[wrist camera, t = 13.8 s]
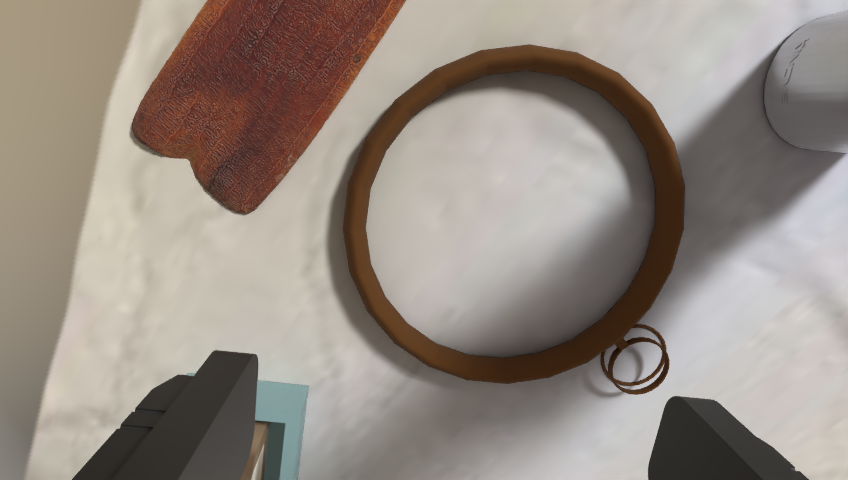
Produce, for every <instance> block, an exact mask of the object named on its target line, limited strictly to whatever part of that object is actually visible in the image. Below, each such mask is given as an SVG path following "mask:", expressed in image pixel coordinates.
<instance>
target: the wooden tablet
mask: <svg viewBox="0 0 848 480" xmlns="http://www.w3.org/2000/svg"><path fill="white" fill-rule="evenodd" d="M405 1H406V0H208V1H207V2H206V3H205V5H204V6H203V7H202V9H201V10H200V12H199V13H198V15H197V16H196V18H195V20H194V21H193V23H192V24H191V26H190V27H189V28H188V30H187V31H186V32H185V34H184V36H183V37H182V39H181V41H180V42H179V44H178V45H177V47H176V49H175V50H174V51H173V52H172V55H171V56H170V58H169V59H168V60H167V61H166V63H165V65H164V66H163V68H162V69H161V71H160V72H159V74H158V76H157V78H156V79H155V80H154V81H153V82H152V84H151V86H150V88H149V90H148V91H147V93H146V94H145V96H144V98H143V99H142V101H141V103H140V105H139V107H138V109H137V112H136V114H135V116H134V119H133V123H132V130H133V133H134V136H135V137H136V139H137V140H138V141H140V142H141V143H143V144H144V145H146V146H147V147H149V148H151V149H153V150H155V151H156V152H159V153H160V154H162V155H165V156H168V157H170V158H183V159H188V160H189V161H190V164H191V167H192V169H193V172H194V174H195V176H196V178H197V179H198V180H199V181H200V183H201V184H202V185H203V186H204V188H205V189H206V190H207V191H208V192H209V193H210V194H211V195H212V196H213V197H215V198H216V199H217V200H218V201H219V202H221V203H222V204H223V205H225V206H227V207H228V208H229V209H231V210H234V211H236V212H239V213H243V212H244V213H249V212H252V211H253V210H255V209H256V208H257V207H258V206H259V205H260V204H261V203H262V202H263V200H264V199H265V198H266V197H267V196H268V195H269V193H271V191H272V190H273V189H274V188H275V187H276V186H277V185H278V184H279V183H280V181H281V180H282V179H283V178H284V177H285V175H286V174H287V173H288V171H289V170H290V169H291V167H292V166H293V165H294V164H295V163H296V161H297V160H298V158H299V157H300V156H301V155H302V154H303V152H304V151H305V150H306V148H307V147H308V145H309V144H310V143H311V142H312V140H313V139H314V137H315V136H316V135H317V133H318V132H319V131H320V129H321V128H322V126H323V125H324V123H325V121H326V120H327V119H328V118H329V116H330V115H331V113H332V112H333V111H334V109H335V108H336V106H337V105H338V103H339V102H340V100H341V99H342V98H343V96H344V95H345V93H346V92H347V90H348V89H349V88H350V86H351V84H352V83H353V81H354V80H355V78H356V76H357V75H358V73H359V72H360V70H361V69H362V67H363V66H364V64H365V63H366V61H367V60H368V58H369V56H370V55H371V53H372V52H373V51H374V49H375V48H376V46H377V44H378V43H379V42H380V40H381V39H382V37H383V36H384V34H385V32H386V31H387V29H388V28H389V26H390V24H391V23H392V21H393V20H394V18H395V17H396V15H397V14H398V12H399V11H400V9H401V8H402V6H403V4H404V3H405Z"/></svg>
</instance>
